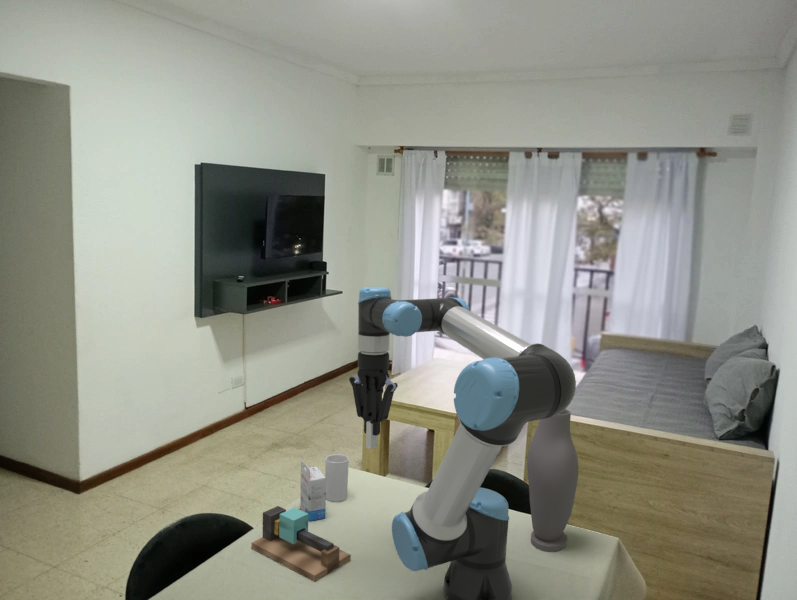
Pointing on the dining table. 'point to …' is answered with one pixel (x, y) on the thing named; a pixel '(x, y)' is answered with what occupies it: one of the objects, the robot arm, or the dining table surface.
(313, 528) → the dining table surface
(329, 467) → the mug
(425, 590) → the dining table surface
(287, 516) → the sleeve
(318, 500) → the ink box
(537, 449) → the vase
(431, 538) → the robot arm
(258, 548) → the cradle board
